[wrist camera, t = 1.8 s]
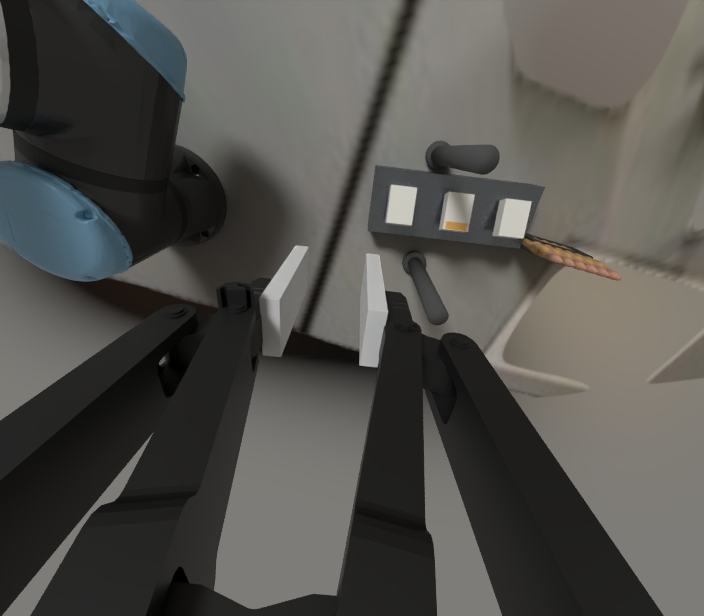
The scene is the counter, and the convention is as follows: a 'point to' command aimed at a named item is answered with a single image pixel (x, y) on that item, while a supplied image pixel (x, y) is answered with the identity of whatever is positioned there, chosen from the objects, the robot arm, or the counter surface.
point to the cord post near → (463, 157)
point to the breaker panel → (432, 199)
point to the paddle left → (400, 205)
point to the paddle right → (511, 218)
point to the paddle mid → (456, 212)
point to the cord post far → (425, 288)
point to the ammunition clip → (566, 256)
